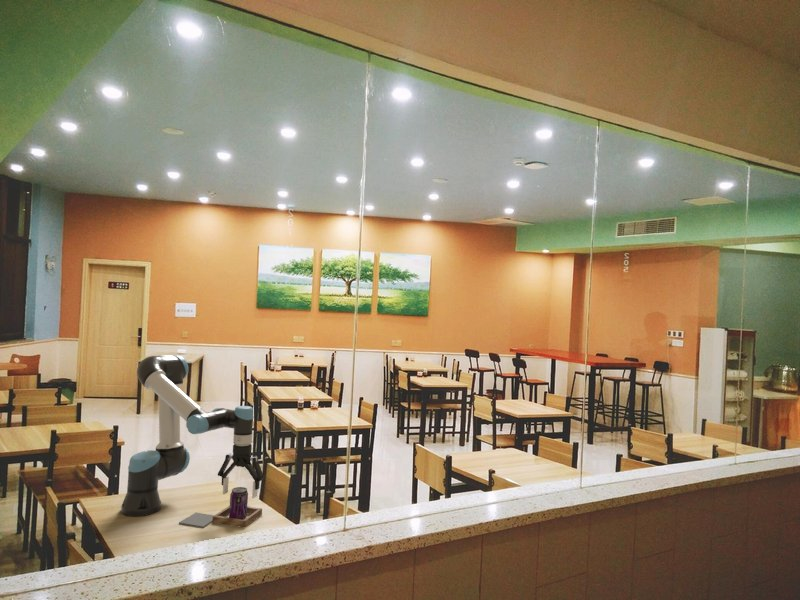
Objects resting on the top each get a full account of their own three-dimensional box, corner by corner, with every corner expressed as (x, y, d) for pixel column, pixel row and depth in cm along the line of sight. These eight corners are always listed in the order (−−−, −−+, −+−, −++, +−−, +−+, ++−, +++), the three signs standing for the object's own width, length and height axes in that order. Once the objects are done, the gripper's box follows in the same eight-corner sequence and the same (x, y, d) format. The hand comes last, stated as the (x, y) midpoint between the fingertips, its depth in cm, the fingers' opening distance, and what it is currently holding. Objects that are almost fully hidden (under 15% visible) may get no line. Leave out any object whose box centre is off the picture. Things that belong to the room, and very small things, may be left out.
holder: (212, 522, 208) (212, 516, 208) (231, 509, 222) (232, 504, 222) (244, 527, 205) (244, 521, 205) (261, 514, 219) (262, 508, 219)
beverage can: (241, 522, 209) (243, 493, 209) (225, 520, 211) (227, 491, 211) (249, 516, 216) (251, 487, 216) (234, 514, 217) (236, 485, 218)
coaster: (178, 523, 205) (179, 522, 205) (195, 513, 216) (195, 512, 216) (203, 527, 202) (203, 526, 202) (219, 517, 213) (219, 516, 213)
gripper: (210, 443, 213) (208, 494, 213) (265, 448, 208) (262, 501, 207) (220, 439, 221) (218, 488, 220) (273, 444, 215) (271, 495, 214)
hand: (239, 495), depth 213 cm, fingers open, 13 cm apart
